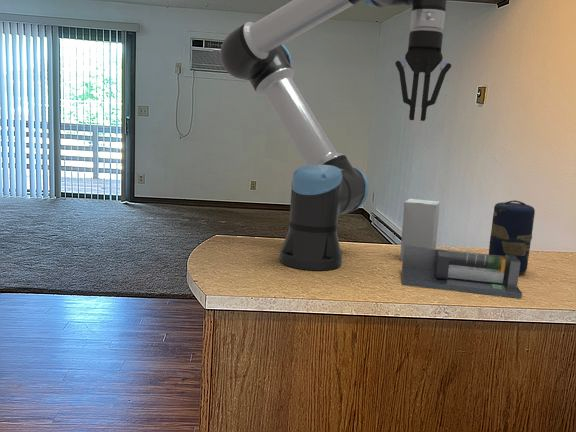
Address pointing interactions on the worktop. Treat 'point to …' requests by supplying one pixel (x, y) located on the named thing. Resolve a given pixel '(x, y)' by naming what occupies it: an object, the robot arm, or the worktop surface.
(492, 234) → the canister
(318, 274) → the worktop surface
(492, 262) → the rail
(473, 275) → the capped sliding bar
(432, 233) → the skincare box
